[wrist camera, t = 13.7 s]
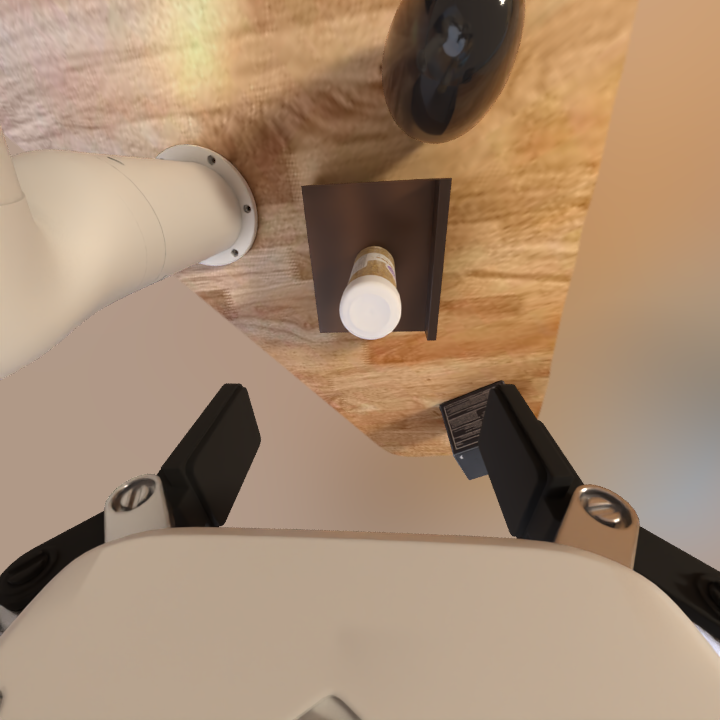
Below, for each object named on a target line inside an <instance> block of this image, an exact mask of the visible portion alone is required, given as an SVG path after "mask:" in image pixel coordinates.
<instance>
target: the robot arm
mask: <svg viewBox="0 0 720 720" xmlns="http://www.w3.org/2000/svg"><path fill="white" fill-rule="evenodd" d="M214 158H215V163H214V161H213V159H214ZM248 206H250V208H251V211H250V210H249V209H248ZM257 228H258V215H257V208H256V204H255V201H254V197H253V194H252V192H251V190H250V188H249V186H248V184H247V182H246V181H245V179H244V178H243V176H242V175H241V174H240V172H239V171H238V170H237V169H236V168H235V167H234V166H233V165H232V164H231V163H230V162H229V161H228V160H226V159H225V158H224V157H222V156H221V155H220V154H218V153H216V152H214V151H212V150H210V149H208V148H204V147H201V146H197V145H189V144H183V145H175V146H172V147H169V148H167V149H165V150H164V151H162V152H161V153H160V154H158V156H157V157H156V158H155V159H151V158H140V157H129V156H118V155H107V154H96V153H84V152H77V151H67V150H55V149H52V150H35V151H28V152H23V153H20V154H16V155H13V156H10V153H9V150H8V147H7V144H6V141H5V137H4V134H3V131H2V128H1V125H0V380H1V379H3V378H5V377H7V376H10V375H12V374H14V373H15V372H17V371H19V370H21V369H22V368H24V367H25V366H27V365H29V364H30V363H32V362H34V361H35V360H37V359H39V358H40V357H41V356H43V355H44V354H45V353H47V352H48V351H49V350H51V349H52V348H53V347H54V346H56V345H57V344H58V343H60V342H61V341H62V340H63V339H64V338H65V337H66V336H68V335H69V334H70V333H71V332H72V331H74V330H75V329H76V328H77V327H78V326H79V325H81V324H82V323H83V322H84V321H85V320H87V319H88V318H89V317H91V316H92V315H94V314H95V313H97V312H98V311H100V310H101V309H103V308H105V307H107V306H108V305H110V304H112V303H114V302H116V301H118V300H119V299H122V298H123V297H126V296H128V295H130V294H132V293H134V292H136V291H138V290H141V289H143V288H145V287H147V286H149V285H152V284H154V283H156V282H158V281H160V280H163V279H165V278H167V277H169V276H171V275H173V274H176V273H178V272H180V271H182V270H184V269H186V268H189V267H191V266H193V265H195V264H197V263H200V264H204V265H208V266H222V265H227V264H230V263H233V262H235V261H237V260H238V259H240V258H241V257H243V256H244V255H245V254H246V253H247V252H248V250H249V249H250V248H251V246H252V244H253V242H254V240H255V237H256V233H257ZM236 250H237V251H238V253H237V252H236ZM260 442H261V437H260V433H259V429H258V426H257V423H256V419H255V416H254V412H253V409H252V406H251V402H250V399H249V395H248V392H247V389H246V388H245V387H243V386H242V385H241V384H224V385H223V386H222V388H221V389H220V390H219V391H218V393H217V394H216V395H215V397H214V398H213V399H212V401H211V402H210V403H209V405H208V406H207V407H206V409H205V410H204V411H203V413H202V414H201V415H200V417H199V418H198V419H197V421H196V422H195V423H194V425H193V426H192V427H191V429H190V430H189V431H188V433H187V434H186V435H185V436H184V438H183V439H182V440H181V442H180V443H179V444H178V446H177V447H176V448H175V450H174V451H173V452H172V454H171V455H170V456H169V458H168V459H167V461H166V462H165V463H164V464H163V466H162V467H161V470H160V471H159V473H158V474H157V475H155V474H144V475H139V476H137V477H134V478H132V479H130V480H128V481H126V482H124V483H123V484H122V485H120V486H119V487H118V488H116V489H115V490H114V491H113V493H112V494H111V495H110V496H109V498H108V499H107V501H106V503H105V508H104V511H103V512H101V513H99V514H97V515H96V516H93V517H92V518H90V519H88V520H86V521H84V522H82V523H81V524H79V525H77V526H75V527H73V528H71V529H69V530H67V531H66V532H63V533H62V534H60V535H58V536H56V537H54V538H52V539H50V540H49V541H47V542H45V543H43V544H41V545H39V546H37V547H35V548H33V549H32V550H30V551H29V552H27V553H25V554H24V555H22V556H21V557H19V558H18V559H17V560H16V561H14V562H13V563H12V564H11V565H10V566H9V567H8V568H7V569H6V570H5V571H4V572H3V573H2V574H1V576H0V720H720V572H719V571H717V570H716V569H714V568H712V567H710V566H709V565H706V564H705V563H703V562H702V561H700V560H698V559H696V558H695V557H693V556H691V555H689V554H688V553H686V552H684V551H682V550H681V549H679V548H677V547H675V546H674V545H672V544H670V543H668V542H667V541H665V540H663V539H661V538H659V537H658V536H656V535H654V534H653V533H651V532H649V531H647V530H646V529H644V528H642V527H640V524H639V518H638V516H637V514H636V512H635V510H634V509H633V508H632V507H631V505H630V504H629V503H628V502H627V501H625V500H624V499H623V498H622V497H621V496H619V495H618V494H616V493H614V492H612V491H611V490H609V489H606V488H603V487H601V486H596V485H591V484H589V485H584V484H583V482H582V481H581V479H580V478H579V476H578V475H577V473H576V472H575V470H574V469H573V467H572V466H571V464H570V463H569V461H568V460H567V458H566V457H565V456H564V454H563V453H562V451H561V450H560V448H559V447H558V445H557V443H556V442H555V441H554V439H553V437H552V436H551V435H550V433H549V432H548V430H547V429H546V427H545V426H544V424H543V423H542V422H541V421H539V420H537V418H536V417H535V415H534V414H533V412H532V411H531V409H530V408H529V406H528V405H527V403H526V402H525V400H524V399H523V397H522V396H521V394H520V393H519V391H518V390H517V388H516V387H515V385H513V384H497V385H496V386H495V388H491V389H490V392H489V396H488V400H487V405H486V409H485V413H484V417H483V421H482V426H481V430H480V434H479V438H478V447H479V451H480V453H481V456H482V459H483V461H484V464H485V467H486V470H487V472H488V475H489V478H490V480H491V483H492V486H493V489H494V491H495V494H496V496H497V499H498V502H499V505H500V508H501V510H502V513H503V516H504V518H505V521H506V524H507V527H508V529H509V532H510V534H511V535H512V536H516V537H517V539H515V538H497V537H480V536H460V535H459V536H458V535H436V534H410V533H386V532H359V531H330V530H329V531H328V530H301V529H267V528H229V527H219V526H222V525H224V523H225V522H226V520H227V517H228V515H229V513H230V510H231V508H232V506H233V504H234V502H235V499H236V497H237V495H238V493H239V491H240V488H241V486H242V484H243V482H244V479H245V477H246V475H247V472H248V470H249V468H250V466H251V464H252V462H253V459H254V457H255V455H256V453H257V450H258V448H259V445H260Z"/></svg>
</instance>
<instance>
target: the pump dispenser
mask: <svg viewBox="0 0 720 720" xmlns="http://www.w3.org/2000/svg"><path fill="white" fill-rule="evenodd" d="M524 19H525V0H402V1H401V3H400V5H399V7H398V9H397V11H396V14H395V16H394V18H393V21H392V23H391V26H390V29H389V32H388V35H387V39H386V43H385V47H384V53H383V60H382V85H383V92H384V97H385V101H386V104H387V107H388V109H389V112H390V114H391V116H392V118H393V119H394V121H395V122H396V124H397V125H398V126H399V127H400V129H401V130H402V131H403V132H405V133H406V134H407V135H408V136H410V137H411V138H413V139H415V140H417V141H420V142H424V143H430V144H438V143H444V142H448V141H451V140H454V139H456V138H458V137H460V136H462V135H463V134H465V133H466V132H468V131H469V130H471V129H472V128H473V127H474V126H475V125H476V124H477V123H479V121H480V120H481V119H482V118H483V117H484V116H485V115H486V114H487V112H488V111H489V110H490V108H491V107H492V106H493V104H494V103H495V101H496V100H497V98H498V97H499V95H500V94H501V92H502V90H503V88H504V86H505V84H506V82H507V80H508V78H509V76H510V74H511V71H512V68H513V66H514V63H515V60H516V57H517V53H518V50H519V46H520V42H521V38H522V33H523V27H524Z"/></svg>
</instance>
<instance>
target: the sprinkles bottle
mask: <svg viewBox="0 0 720 720" xmlns="http://www.w3.org/2000/svg"><path fill="white" fill-rule="evenodd" d="M339 311H340V318H341V321H342V323H343V325H344V326H345V327H346V329H347V330H348V331H349V332H351V333H352V334H353V335H355V336H357V337H359V338H362V339H378V338H382V337H384V336H386V335H388V334H389V333H391V332H392V331H393V330H394V329H395V327H396V326H397V324H398V322H399V320H400V317H401V300H400V296H399V293H398V291H397V289H396V277H395V264H394V259H393V257H392V255H391V254H390V253H389V252H388V251H387V250H386V249H384V248H382V247H379V246H371V247H367V248H365V249H363V250H361V252H360V253H359V254H358V255H357V257H356V259H355V262H354V266H353V269H352V272H351V276H350V279H349V282H348V285H347V287H346V289H345V290H344V292H343V295H342V298H341V302H340V308H339Z"/></svg>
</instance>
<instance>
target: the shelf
mask: <svg viewBox="0 0 720 720" xmlns="http://www.w3.org/2000/svg"><path fill="white" fill-rule="evenodd" d="M451 180H452V178H435V179H416V180H397V181H378V182H359V183H340V184H321V185H306V186H301V187H302V195H303V203H304V211H305V218H306V226H307V234H308V242H309V250H310V258H311V266H312V273H313V281H314V289H315V297H316V305H317V313H318V321H319V328H320V333H331V332H349V331H348V330H347V329H346V327H345V326H344V325H343V323H342V321H341V318H340V311H339V308H340V302H341V298H342V295H343V292H344V290H345V289H346V287H347V285H348V282H349V279H350V276H351V272H352V269H353V266H354V262H355V259H356V257H357V255H358V254H359V253H360V252H361V250H363V249H365V248H367V247H371V246H379V247H382V248H384V249H386V250H387V251H388V252H389V253H390V254H391V255H392V257H393V259H394V264H395V277H396V289H397V291H398V293H399V296H400V300H401V317H400V320H399V322H398V324H397V326H396V327H395V329H394V330H393V331H392V332H397V331H425V334H426V338H427V340H436V335H437V324H438V314H439V304H440V294H441V283H442V273H443V263H444V252H445V242H446V232H447V221H448V211H449V201H450V190H451Z"/></svg>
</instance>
